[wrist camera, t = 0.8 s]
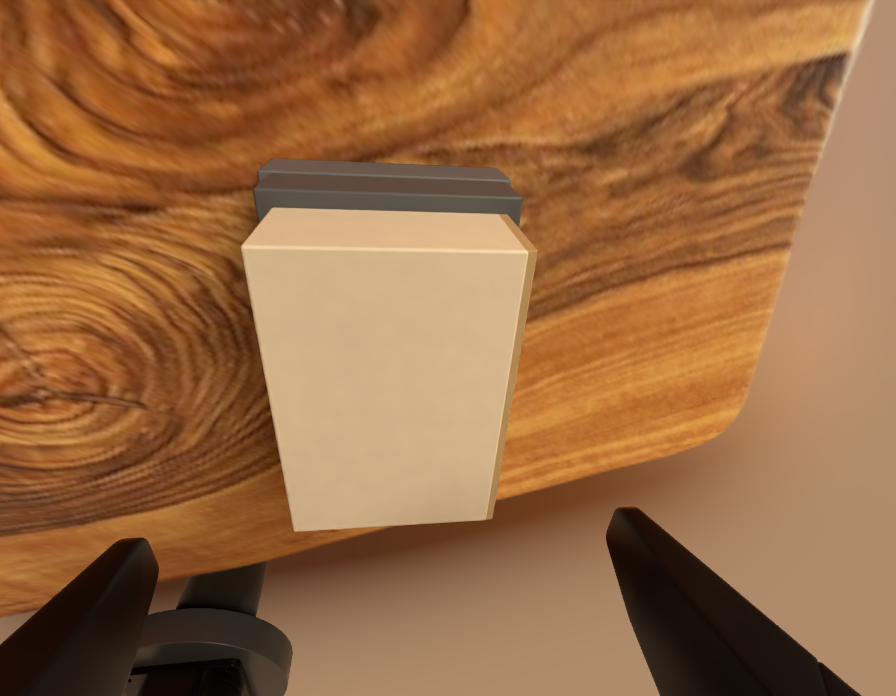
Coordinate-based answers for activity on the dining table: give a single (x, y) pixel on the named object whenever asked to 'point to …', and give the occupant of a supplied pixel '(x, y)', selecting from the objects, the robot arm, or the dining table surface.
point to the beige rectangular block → (389, 359)
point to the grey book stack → (384, 188)
